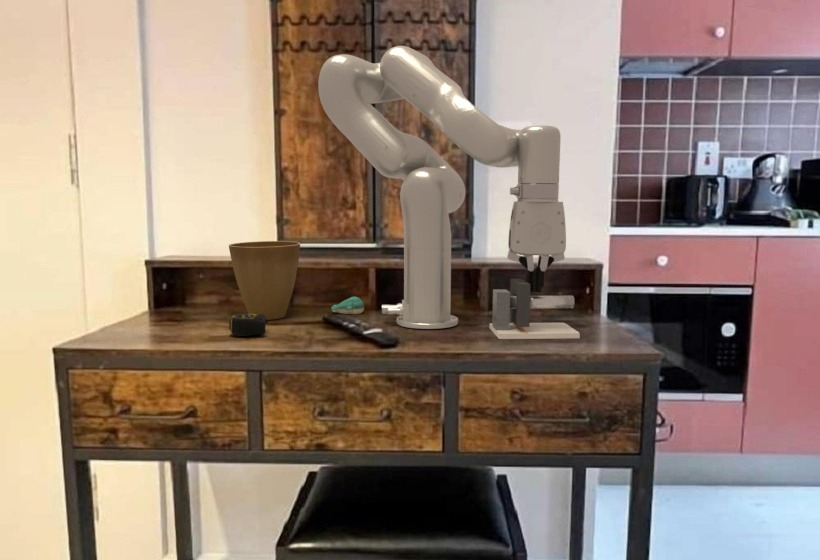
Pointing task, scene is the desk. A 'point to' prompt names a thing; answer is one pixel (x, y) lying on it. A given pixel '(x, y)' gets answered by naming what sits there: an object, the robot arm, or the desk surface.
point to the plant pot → (266, 275)
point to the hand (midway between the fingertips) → (534, 291)
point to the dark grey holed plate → (520, 302)
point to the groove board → (537, 331)
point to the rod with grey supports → (507, 302)
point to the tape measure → (247, 324)
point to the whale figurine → (349, 306)
